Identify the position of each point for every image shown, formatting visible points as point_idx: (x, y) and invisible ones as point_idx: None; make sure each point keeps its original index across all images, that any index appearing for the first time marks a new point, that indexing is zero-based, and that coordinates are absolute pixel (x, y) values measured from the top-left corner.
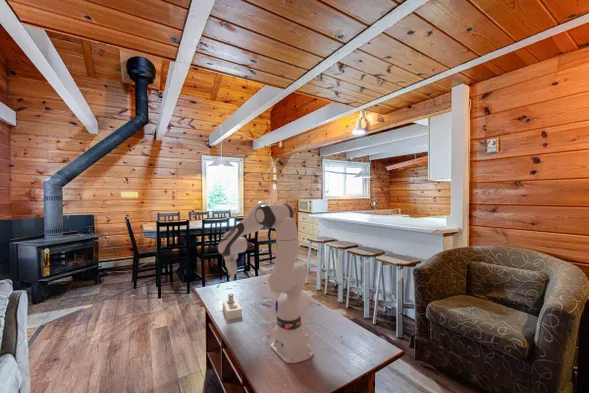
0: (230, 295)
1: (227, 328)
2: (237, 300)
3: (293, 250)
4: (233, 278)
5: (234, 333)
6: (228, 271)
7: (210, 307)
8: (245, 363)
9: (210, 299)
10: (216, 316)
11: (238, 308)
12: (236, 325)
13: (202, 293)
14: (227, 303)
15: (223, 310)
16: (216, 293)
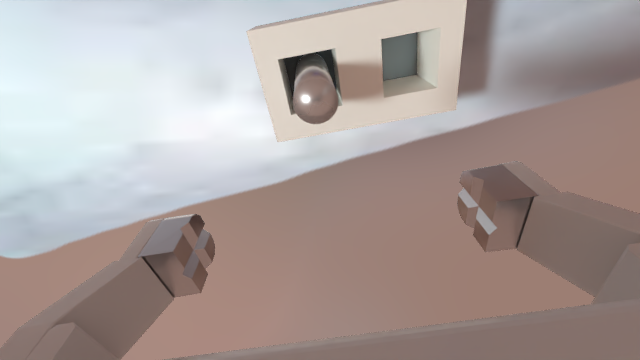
0: (336, 105)
1: (525, 88)
2: (288, 23)
3: None
4: (529, 181)
5: (601, 49)
6: (152, 315)
7: (256, 184)
8: None
9: (148, 192)
10: (370, 149)
11: (447, 20)
12: (526, 35)
13: (68, 236)
14: None
15: None
16: (45, 169)
